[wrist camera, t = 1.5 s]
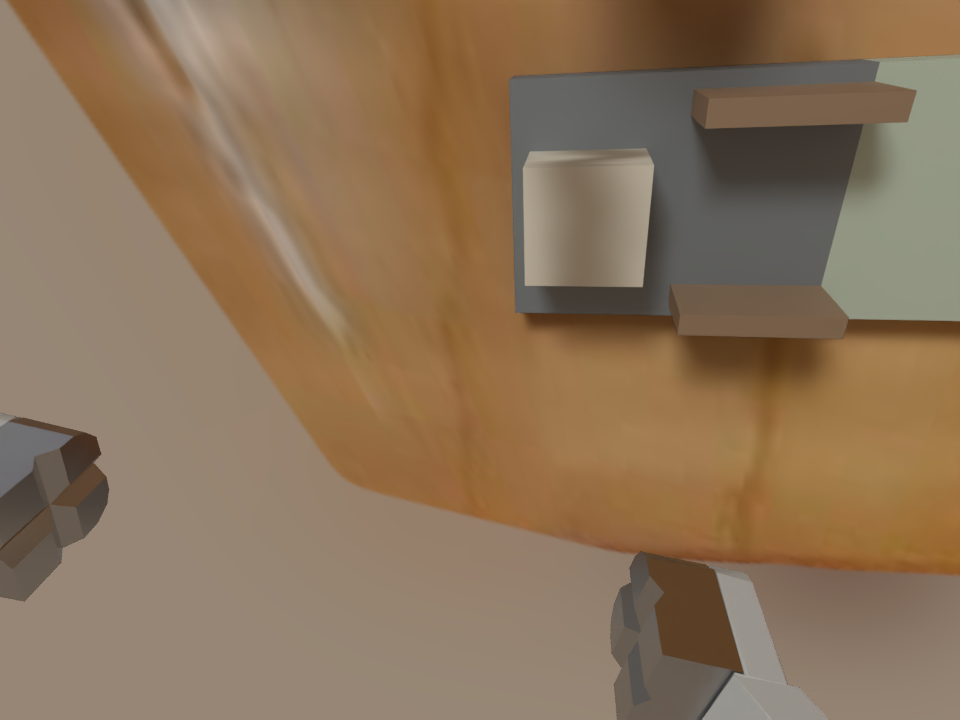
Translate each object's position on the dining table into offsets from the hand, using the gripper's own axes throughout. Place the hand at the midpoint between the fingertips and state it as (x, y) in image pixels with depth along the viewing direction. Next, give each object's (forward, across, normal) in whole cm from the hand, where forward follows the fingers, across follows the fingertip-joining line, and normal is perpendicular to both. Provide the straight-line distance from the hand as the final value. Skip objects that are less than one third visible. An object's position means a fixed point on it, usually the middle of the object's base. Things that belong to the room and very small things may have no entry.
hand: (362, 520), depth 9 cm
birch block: (+26, -5, +1) cm, 26 cm away
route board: (+28, -17, -2) cm, 33 cm away
